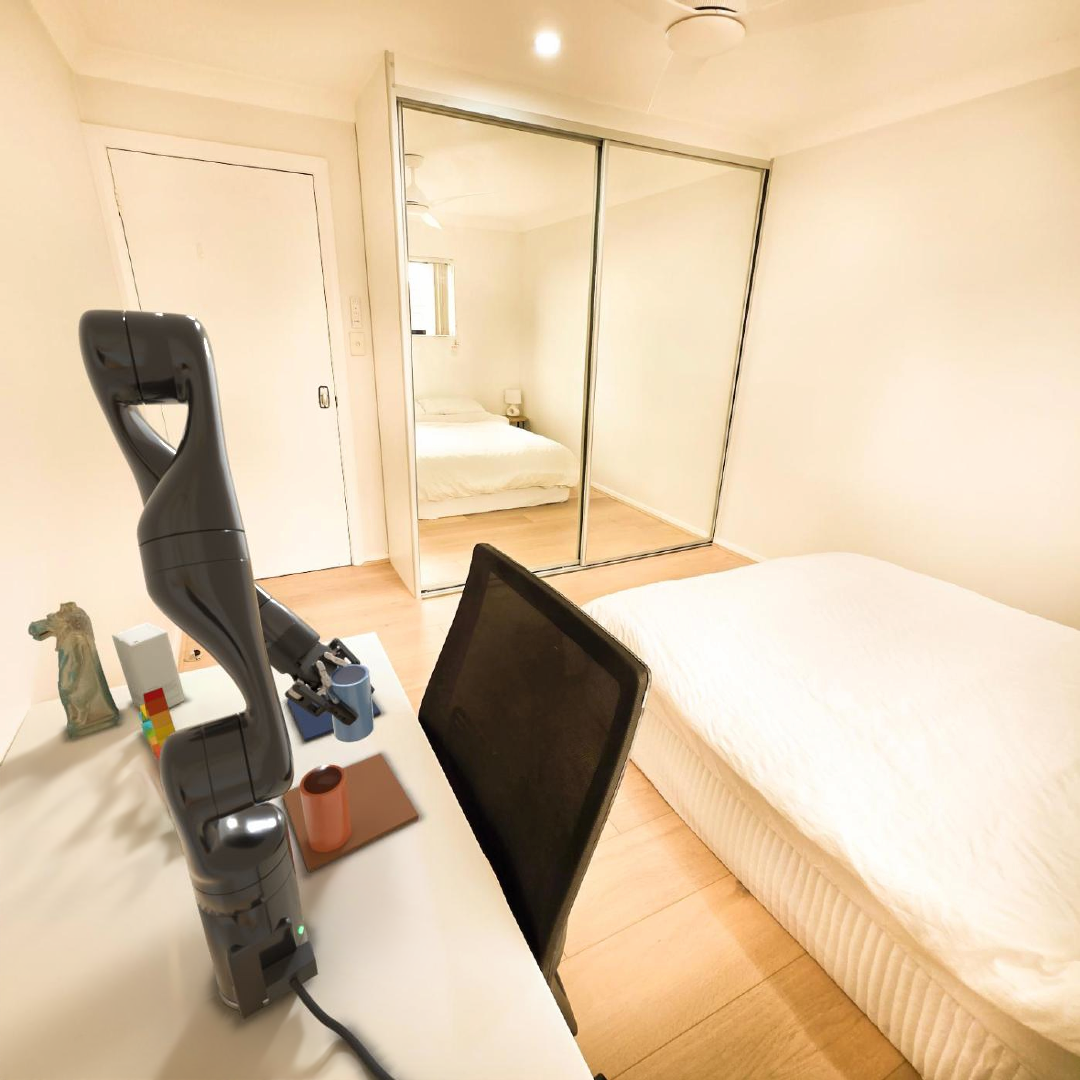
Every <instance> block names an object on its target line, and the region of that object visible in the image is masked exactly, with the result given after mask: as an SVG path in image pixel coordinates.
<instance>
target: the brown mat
mask: <svg viewBox="0 0 1080 1080" xmlns="http://www.w3.org/2000/svg"><path fill="white" fill-rule="evenodd" d="M342 769H343V770H344V771H345V773H346V781H347V790H348V799H349V807H350V816H351V824H352V833H351V835H350V837H349V839H348V840H347V841H346V843H345V844H343V845H342V846H341V847H339V848H338V849H336V850H333V851H330V852H316V851H314V850H312V849H311V848H310V846H309V844H308V839H307V833H306V826H305V820H304V813H303V807H302V800H301V794H300V785H298V786H297V787H294V788H292V789H289V791H288V792H286V793H285V794H283V795H282V798H283V801H284V803H285V807H286V809H287V812H288V815H289V818H290V821H291V824H292V826H293V830H294V833H295V836H296V838H297V839H296V840H297V842H298V844H299V848H300V850H301V853H302V858H303V860H304V862H305V866H306V868H307V871H308V873H311V872H313V871H315V870H317V869H319V868H321V867H324V866H325V865H327V864H329V863H331V862H333V861H335V860H337V859H340V858H341V857H343V856H345V855H347V854H349V853H351V852H353V851H355V850H357V849H359V848H361V847H363V846H364V845H367V844H369V843H371V842H372V841H375V840H377V839H379V838H381V837H383V836H385V835H388V834H389V833H391V832H393V831H395V830H397V829H399V828H401V827H403V826H405V825H407V824H409V823H410V822H413V821H414V820H417V819H419V817H420V815H419V813H418V811H417V809H416V808H415V806H414V805H413V803H412V800H410V798H409V796H408V795H407V793H406V792H405V790H404V788H403V787H402V785H401V784H400V782H399V780H398V779H397V777H396V776H395V774H394V772H393V770H392V769H391V767H390V765H389V764H388V762H387V761H386V759H385V757H384V756H383V754H382V753H381V752H380V753H377V754H375V755H372V756H370V757H368V758H365V759H363V760H360V761H358V762H356V763H353V764H351V765H348V766H346V767H342Z"/></svg>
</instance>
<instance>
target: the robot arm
mask: <svg viewBox="0 0 1080 1080" xmlns="http://www.w3.org/2000/svg"><path fill="white" fill-rule="evenodd" d="M77 329H78V330H77V331H78V333H77V334H78V336H77V337H78V345H79V350H80V355H81V360H82V363H83V366H84V371H85V373H86V376H87V379H88V381H89V384H90V387H91V389H92V391H93V393H94V396H95V398H96V400H97V402H98V404H99V407H100V409H101V411H102V413H103V415H104V417H105V419H106V421H107V425H108V426H109V428H110V431H111V433H112V435H113V437H114V440H115V441H116V444H117V445H118V448H119V449H120V451H121V454H122V455H123V457H124V460H125V461H126V463H127V465H128V467H129V469H130V472H131V473H132V475H133V478H134V480H135V483H136V487H137V489H138V492H139V495H140V498H141V504H142V506H143V509H142V512H141V514H140V516H139V519H138V522H137V528H136V540H137V545H138V551H139V557H140V562H141V568H142V574H143V578H144V583H145V588H146V593H147V595H148V597H149V598H150V600H151V601H152V603H153V604H154V605H155V606H156V607H157V609H158V610H159V611H160V612H161V613H162V614H163V616H165V617H166V618H167V619H169V620H170V621H171V622H172V623H173V624H174V625H175V626H177V628H179V629H180V630H181V631H182V632H184V633H185V634H186V635H187V636H188V637H190V638H191V639H192V640H193V641H194V642H195V643H196V644H198V645H199V646H200V647H201V648H202V649H204V650H205V651H206V653H208V654H209V655H210V656H211V657H212V658H213V659H214V661H215V662H216V663H218V665H219V666H220V667H221V668H222V669H223V670H224V671H225V673H226V674H227V675H228V676H229V677H230V678H231V680H232V681H233V683H234V684H235V686H236V687H237V688H238V690H239V691H240V694H241V695H242V697H243V699H244V702H245V709H244V710H242V711H238V712H234V713H231V714H228V715H224V716H221V717H218V718H214V719H211V720H206V721H204V722H201V723H197V724H194V725H190V726H187V727H184V728H181V729H178V730H175V732H173V733H171V734H170V735H169V736H168V737H167V738H166V739H165V741H164V742H163V744H162V747H161V750H160V754H159V762H158V773H159V779H160V785H161V789H162V794H163V796H164V799H165V803H166V807H167V809H168V811H169V814H170V816H171V819H172V823H173V825H174V828H175V830H176V833H177V836H178V838H179V842H180V844H181V849H182V852H183V856H184V859H185V862H186V866H187V870H188V875H189V879H190V882H191V886H192V889H193V893H194V897H195V903H196V907H197V909H198V913H199V917H200V922H201V925H202V929H203V932H204V936H205V940H206V944H207V948H208V951H209V956H210V959H211V963H212V968H213V970H214V974H215V979H216V986H217V990H218V994H219V996H220V997H219V998H221V1000H222V1001H223V1003H224V1004H226V1005H227V1006H228V1007H229V1008H231V1009H234V1010H238V1011H239V1014H240V1018H241V1019H245V1018H247V1017H249V1016H251V1015H252V1014H254V1013H255V1012H257V1011H259V1010H260V1009H262V1008H263V1007H266V1006H267V1005H269V1004H272V1003H274V1002H275V1001H277V1000H278V999H280V998H282V997H283V996H285V995H286V994H289V993H290V992H291V991H294V993H295V994H296V995H297V996H298V998H299V999H300V1001H301V1002H302V1003H303V1004H304V1006H305V1007H306V1009H307V1010H308V1011H309V1012H310V1013H311V1014H312V1015H313V1017H315V1018H316V1019H317V1021H318V1022H319V1023H321V1024H322V1025H323V1026H325V1027H326V1028H328V1029H329V1030H330V1031H333V1032H334V1033H335V1034H337V1035H338V1036H339V1037H340V1038H342V1039H343V1041H345V1042H346V1043H347V1044H348V1045H349V1046H350V1047H351V1049H352V1050H353V1051H354V1052H355V1053H356V1055H357V1056H358V1057H359V1058H360V1059H361V1061H362V1062H363V1063H364V1065H365V1066H366V1067H367V1069H369V1071H370V1072H371V1073H372V1074H373V1076H375V1078H377V1079H378V1080H396V1079H395V1078H394V1077H392V1076H391V1075H390V1074H389V1073H388V1072H387V1071H386V1070H385V1069H384V1068H383V1067H382V1066H381V1065H380V1064H379V1062H377V1060H376V1059H374V1057H373V1056H372V1055H371V1053H370V1052H369V1051H368V1049H367V1048H366V1047H365V1046H364V1045H363V1043H362V1042H361V1041H360V1040H359V1039H358V1038H357V1037H356V1036H355V1035H354V1034H353V1033H352V1032H351V1031H350V1030H349V1029H348V1028H347V1027H346V1026H345V1025H343V1024H342V1023H340V1022H339V1021H337V1020H336V1019H334V1018H333V1017H331V1016H330V1015H329V1014H328V1013H326V1012H325V1011H324V1009H322V1007H321V1006H319V1004H318V1003H317V1002H316V1001H315V1000H314V999H313V997H312V996H311V994H309V992H308V991H307V990H306V988H305V987H304V986H303V984H305V983H306V982H308V981H309V980H311V979H313V978H314V977H316V976H318V975H319V972H318V966H317V959H316V956H315V952H314V949H313V946H312V943H311V940H310V939H309V936H308V933H307V929H306V923H305V918H304V913H303V907H302V901H301V895H300V890H299V884H298V878H297V872H296V871H297V870H296V866H295V860H294V855H293V848H292V847H293V846H292V841H291V836H290V829H289V828H290V827H289V823H288V820H287V816H286V815H285V813H284V811H283V810H282V809H281V808H280V807H279V806H277V805H276V804H275V803H273V802H271V801H272V800H275V799H277V798H279V797H281V796H283V794H285V793H286V792H288V791H290V790H291V788H292V786H293V783H294V779H295V762H294V754H293V748H292V743H291V738H290V734H289V731H288V726H287V722H286V718H285V715H284V711H283V708H282V703H281V700H280V696H279V692H278V689H277V684H276V681H275V678H274V674H273V669H274V670H275V671H277V673H279V674H280V675H285V674H288V675H289V676H290V677H291V679H292V681H293V684H292V685H291V687H289V688H288V690H286V691H285V693H284V696H285V698H287V699H289V700H291V701H293V702H294V703H296V704H297V705H299V706H300V707H302V708H303V709H305V710H306V711H308V712H309V713H311V714H312V715H314V716H315V717H319V716H320V715H322V714H324V713H325V712H329V713H331V714H332V715H333V716H334V717H336V718H337V719H338V720H339V721H340V722H342V723H343V724H345V725H351V724H352V723H354V722H355V721H356V720H357V718H358V714H357V713H356V712H355V711H354V710H353V709H351V708H350V707H349V706H348V705H347V704H345V703H344V702H343V701H342V700H340V701H339V698H338V697H337V695H336V693H335V692H334V691H333V689H332V685H331V683H332V681H331V679H330V678H329V677H330V676H331V675H332V674H333V672H334V671H335V670H336V669H337V668H339V667H344V666H345V665H351V664H358V665H362V664H361V663H362V662H361V661H360V659H359V658H357V657H356V655H355V654H354V653H353V652H352V651H351V650H350V649H349V648H348V647H347V646H346V645H345V644H344V643H343V642H342V641H341V639H339V638H338V637H334V638H333V639H332V640H331V641H330V642H328V643H327V645H325V644H323V643H321V642H320V639H321V635H320V634H319V633H318V632H317V631H316V630H315V629H313V628H312V627H311V625H309V624H308V623H307V622H306V621H304V620H303V618H301V617H300V616H299V615H297V614H296V613H295V612H294V611H293V610H292V609H291V608H289V607H288V606H287V605H285V604H284V603H282V602H281V601H280V600H278V599H276V598H275V597H273V595H272V594H271V593H269V592H268V591H267V590H266V589H265V588H264V587H262V585H260V583H258V582H257V581H255V575H254V570H253V565H252V559H251V554H250V548H249V543H248V537H247V534H246V530H245V529H246V528H245V525H244V521H243V516H242V513H241V509H240V504H239V501H238V500H239V499H238V497H237V496H238V495H237V492H236V491H237V490H236V487H235V484H234V483H235V482H234V478H233V475H232V469H231V465H230V460H229V455H228V448H227V441H226V434H225V427H224V419H223V411H222V405H221V397H220V389H219V382H218V381H219V380H218V373H217V368H216V367H217V366H216V361H215V356H214V355H215V354H214V350H213V347H212V342H211V340H210V336H209V335H208V333H207V330H206V328H205V327H204V325H203V323H202V322H201V321H200V320H199V319H198V318H196V317H195V316H192V315H188V314H183V313H177V312H160V311H143V310H131V309H130V310H127V309H124V310H123V309H103V308H102V309H101V308H100V309H96V308H95V309H88V310H85V311H83V313H82V314H81V316H80V317H79V321H78V327H77ZM144 405H145V406H166V405H167V406H168V405H170V406H173V405H174V406H175V405H177V406H178V405H179V406H181V405H184V406H187V411H186V418H185V425H184V428H183V432H182V435H181V438H180V441H179V443H178V445H177V448H176V447H175V446H174V445H173V444H172V443H170V442H169V441H168V440H167V439H165V438H164V437H163V436H162V435H161V434H159V432H158V431H156V429H155V428H154V427H153V426H152V425H151V424H150V423H149V422H148V421H147V419H146V418H145V416H144V415H143V414H142V411H141V410H140V407H139V406H144ZM346 659H347V660H348V661H349V662H350V663H348V661H347V660H346ZM272 668H273V669H272ZM370 685H371V696H372V695H373V694H374V692H375V687H373V685H372V683H370ZM318 689H321V690H318ZM325 695H327V697H328V699H329V700H327V699H326V697H325ZM311 702H314V703H315V704H317V705H318V707H317V706H315V705H314V704H312V703H311Z"/></svg>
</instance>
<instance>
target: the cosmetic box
mask: <svg viewBox="0 0 1080 1080" xmlns="http://www.w3.org/2000/svg"><path fill="white" fill-rule="evenodd" d="M111 638H112V641H113V643H114V647H115V651H116V654H117V657H118V660H119V663H120V667H121V670H122V673H123V676H124V679H125V682H126V685H127V688H128V691H129V694H130V698H131V702H132V703H133V704H134V705H135V706H136V707H138V708H140V706H141V705H144V704H145V702H144V697H143V694H144V693H147V692H150V691H153V690H156V689H159V688H161V687H162V688H163V691H164V695H165V698H166V701H167V705H168V708H169V709H170V708H172V707H174V706H176V705H178V704H180V703H183V702H184V701H185V700H186V697H185V693H184V689H183V688H184V687H183V686H182V681H181V678H180V674H179V671H178V667H177V663H176V658H175V655H174V652H173V648H172V645H171V640H170V637H169V633H168V631H166V630H164V629H162V628H160V627H158V626H157V625H154V624H153V623H151V622H150V621H146V622H143V623H140V624H136V625H135V626H131V627H130V628H127V629H124V630H121V631H119V632H116V633H113V634H111Z"/></svg>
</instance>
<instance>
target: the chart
mask: <svg viewBox="0 0 1080 1080" xmlns="http://www.w3.org/2000/svg"><path fill="white" fill-rule="evenodd" d="M143 697H144V702H145V704H144V705H141V706H140V707H139V709H140V712H139V713H138V716H139V719H140V721H141V728H142V732H143V735H144V736H145V739H146V740H147V743H148V744H149V746H150V748H151V751H152V753H153V754H154V756H155V758H156V761H158V763H159V754H160V750H161V747H162V744H163V742H164V741H165V739H166V738H167V737H168V736H169V735H170V734H171V733H173V732H175V731H176V729H175V725H174V722H173V718H172V715H171V711H170V708H168V705H167V701H166V698H165V695H164V691H163V688H162V687H161V688H159V689H156V690H153V691H150V692H147V693H144V694H143Z"/></svg>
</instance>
